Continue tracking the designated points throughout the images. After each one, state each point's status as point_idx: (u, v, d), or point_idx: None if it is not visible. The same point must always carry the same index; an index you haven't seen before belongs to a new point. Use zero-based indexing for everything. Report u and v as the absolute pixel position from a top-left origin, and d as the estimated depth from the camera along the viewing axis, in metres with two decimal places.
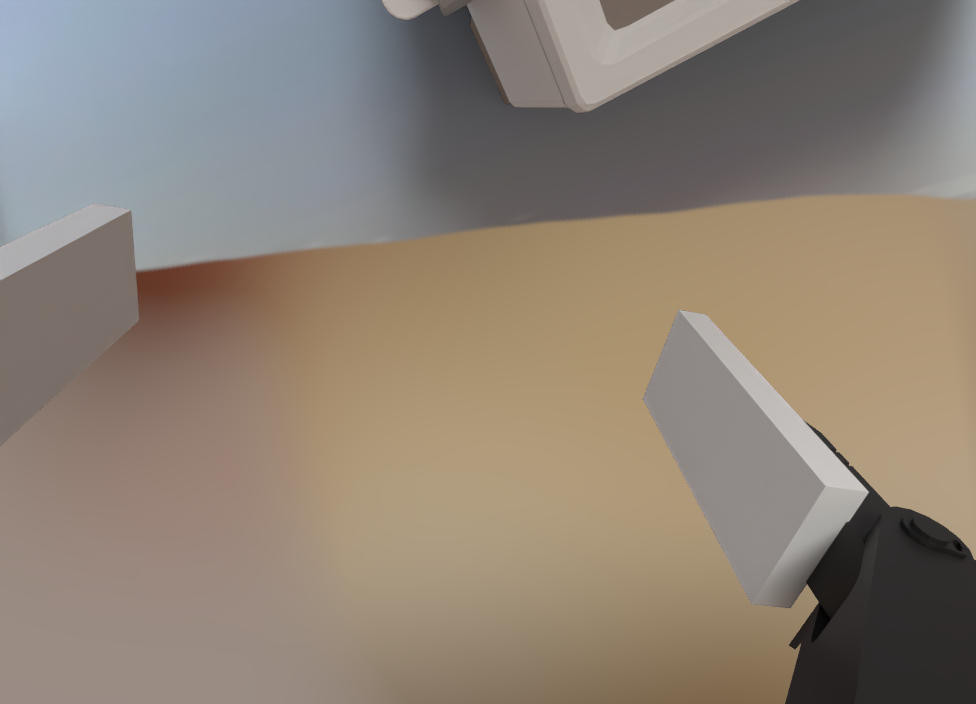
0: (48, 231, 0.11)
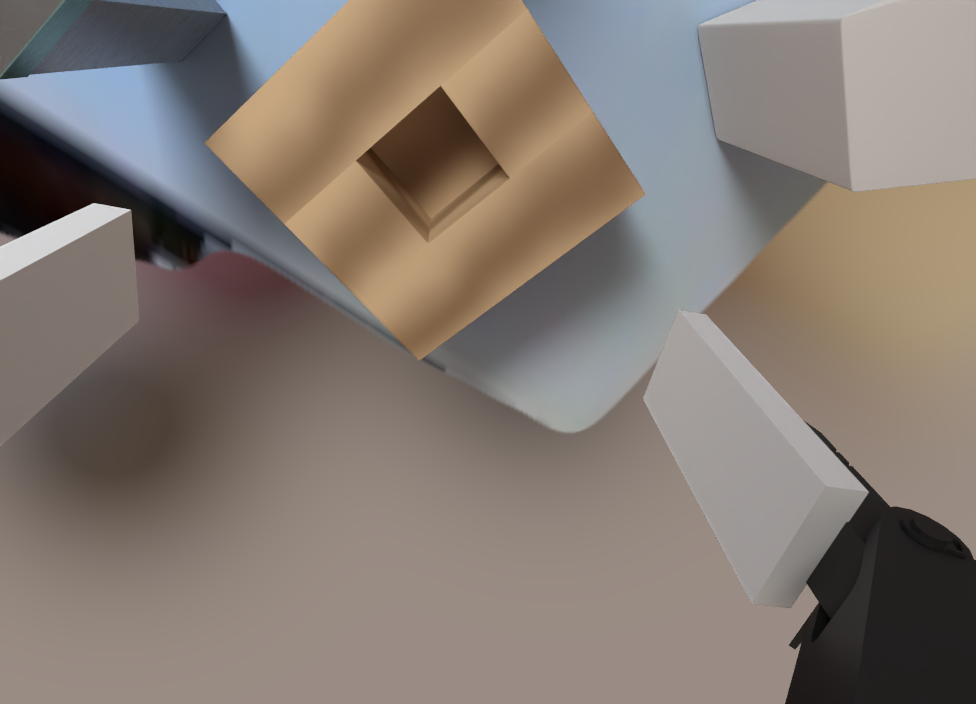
0: (48, 231, 0.11)
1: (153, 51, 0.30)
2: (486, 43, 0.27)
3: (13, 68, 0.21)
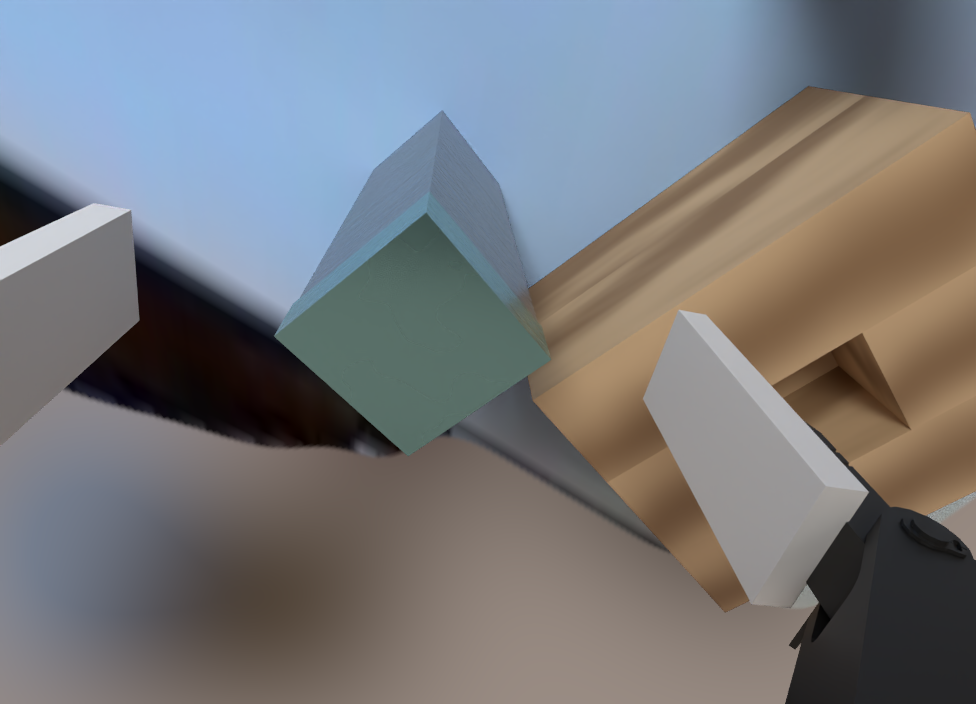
0: (48, 231, 0.11)
1: None
2: (941, 284, 0.20)
3: None
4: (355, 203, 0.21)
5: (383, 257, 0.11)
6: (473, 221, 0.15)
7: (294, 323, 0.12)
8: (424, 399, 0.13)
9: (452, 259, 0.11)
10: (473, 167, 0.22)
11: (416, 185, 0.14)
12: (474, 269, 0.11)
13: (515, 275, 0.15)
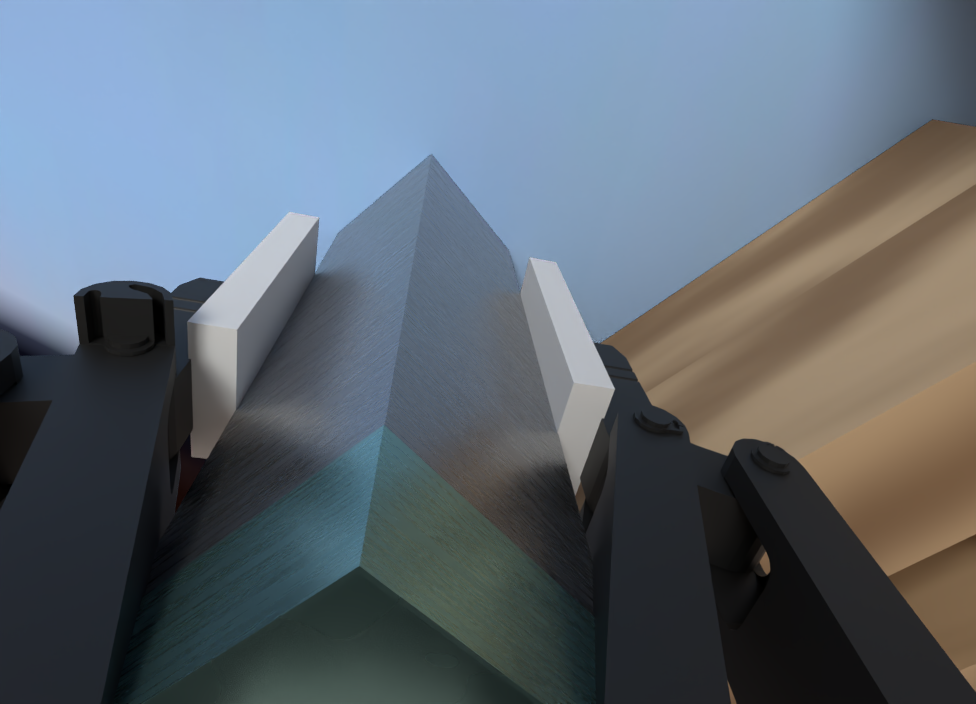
0: (276, 236, 0.13)
1: None
2: None
3: None
4: (298, 304, 0.14)
5: (251, 654, 0.04)
6: (480, 405, 0.08)
7: None
8: None
9: (434, 651, 0.04)
10: (475, 243, 0.15)
11: (371, 348, 0.07)
12: (492, 661, 0.04)
13: (557, 493, 0.08)
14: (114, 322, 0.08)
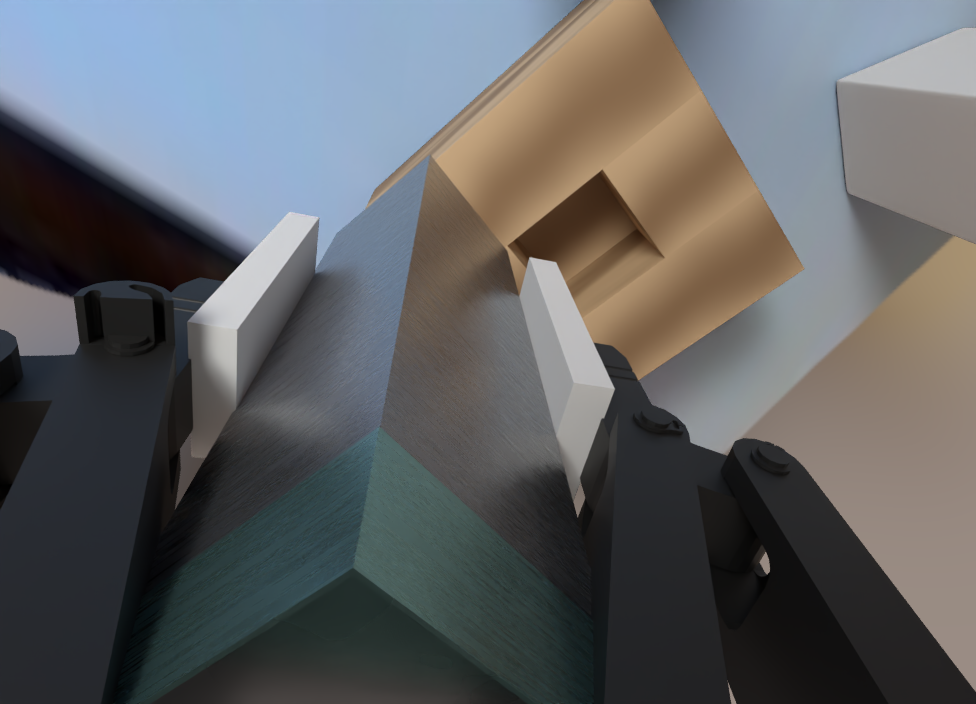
0: (276, 236, 0.13)
1: None
2: (654, 125, 0.26)
3: None
4: (296, 305, 0.14)
5: (246, 656, 0.04)
6: (477, 406, 0.08)
7: None
8: None
9: (429, 652, 0.04)
10: (473, 243, 0.15)
11: (367, 349, 0.07)
12: (485, 663, 0.04)
13: (553, 494, 0.08)
14: (114, 322, 0.08)
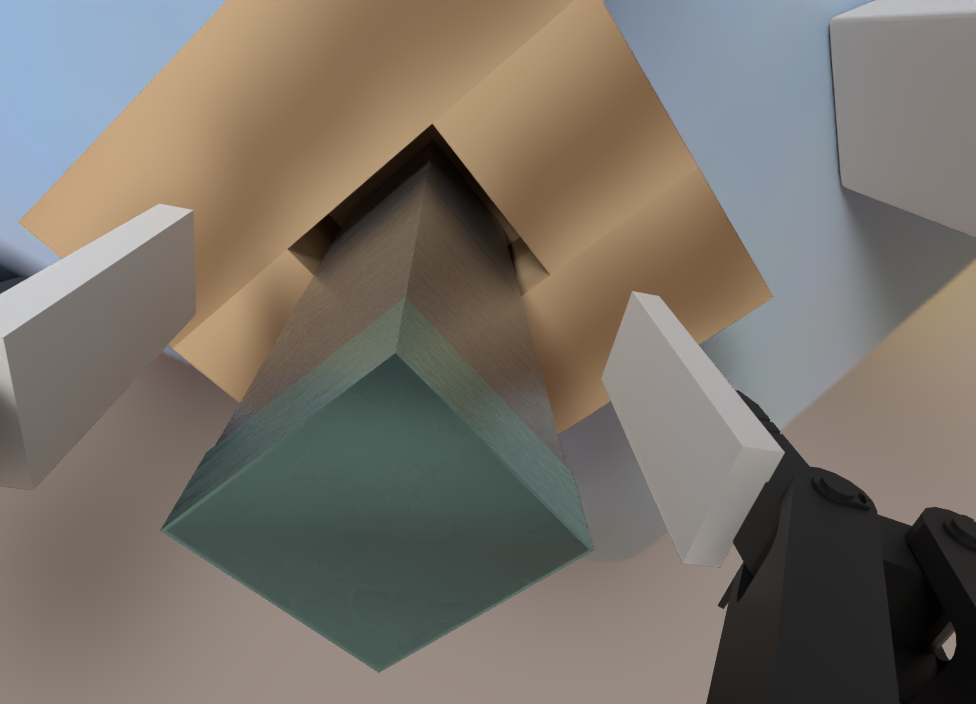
0: (126, 230, 0.12)
1: None
2: (515, 48, 0.15)
3: None
4: (322, 262, 0.16)
5: (327, 419, 0.07)
6: (472, 314, 0.11)
7: (190, 512, 0.07)
8: (400, 604, 0.08)
9: (440, 420, 0.07)
10: (471, 212, 0.18)
11: (391, 267, 0.10)
12: (476, 432, 0.07)
13: (531, 385, 0.11)
14: None
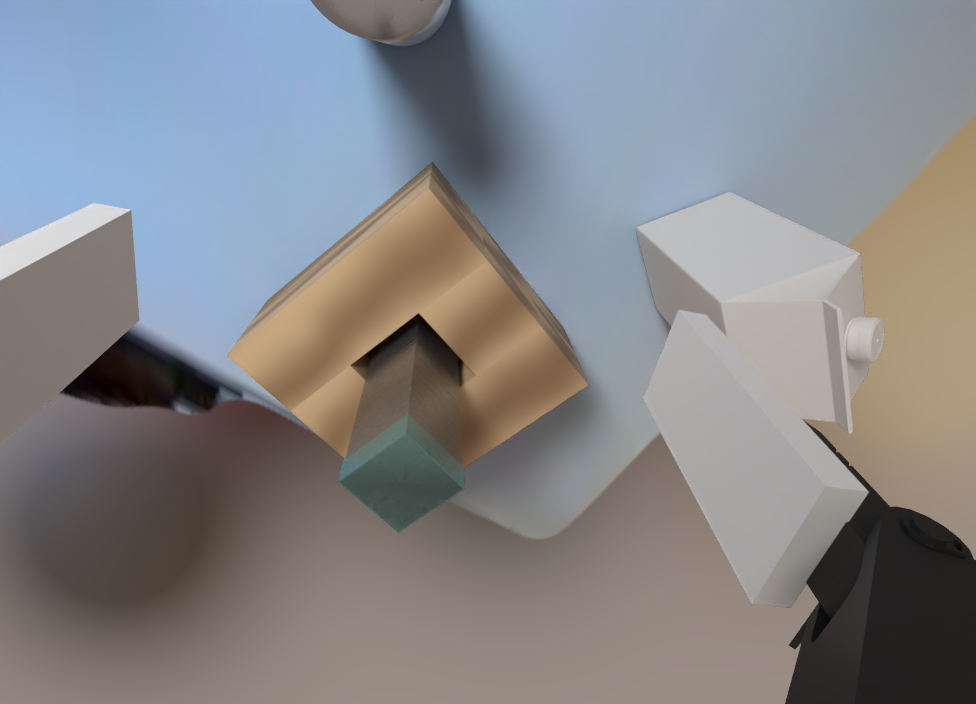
0: (48, 231, 0.11)
1: None
2: (455, 283, 0.34)
3: None
4: (368, 373, 0.35)
5: (387, 450, 0.26)
6: (431, 410, 0.29)
7: (346, 476, 0.26)
8: (406, 507, 0.27)
9: (417, 450, 0.26)
10: (438, 346, 0.37)
11: (402, 396, 0.29)
12: (427, 453, 0.26)
13: (453, 435, 0.30)
14: None
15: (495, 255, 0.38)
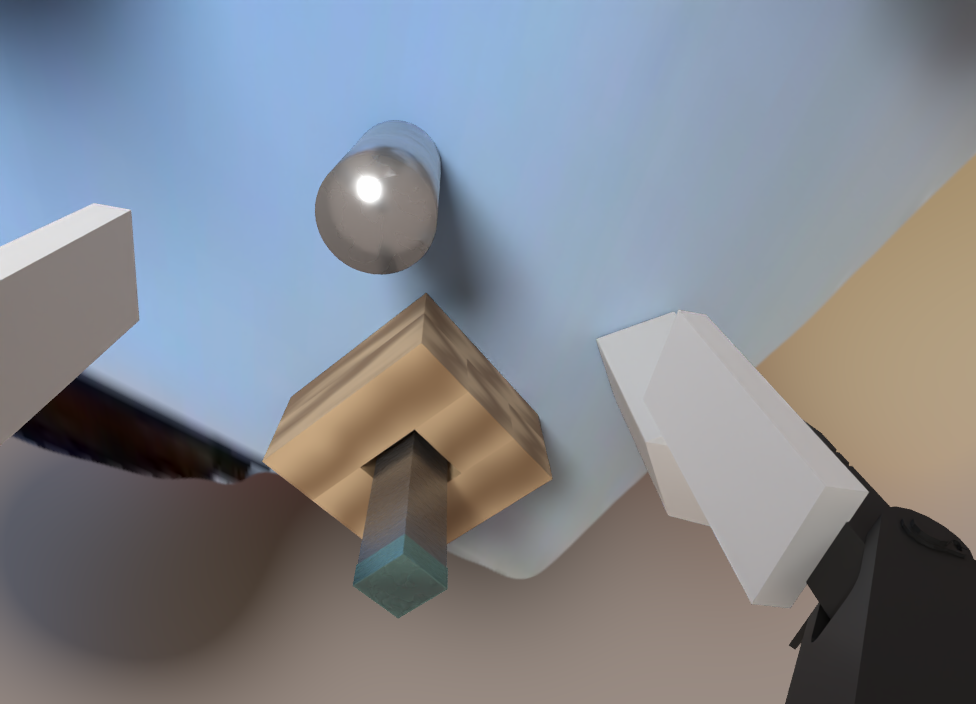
0: (48, 231, 0.11)
1: None
2: (443, 408, 0.43)
3: None
4: (374, 475, 0.44)
5: (389, 564, 0.35)
6: (423, 522, 0.38)
7: (359, 582, 0.35)
8: (403, 601, 0.36)
9: (411, 564, 0.35)
10: (430, 450, 0.46)
11: (401, 512, 0.38)
12: (419, 566, 0.35)
13: (440, 539, 0.39)
14: None
15: (477, 374, 0.46)
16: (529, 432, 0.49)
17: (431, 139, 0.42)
